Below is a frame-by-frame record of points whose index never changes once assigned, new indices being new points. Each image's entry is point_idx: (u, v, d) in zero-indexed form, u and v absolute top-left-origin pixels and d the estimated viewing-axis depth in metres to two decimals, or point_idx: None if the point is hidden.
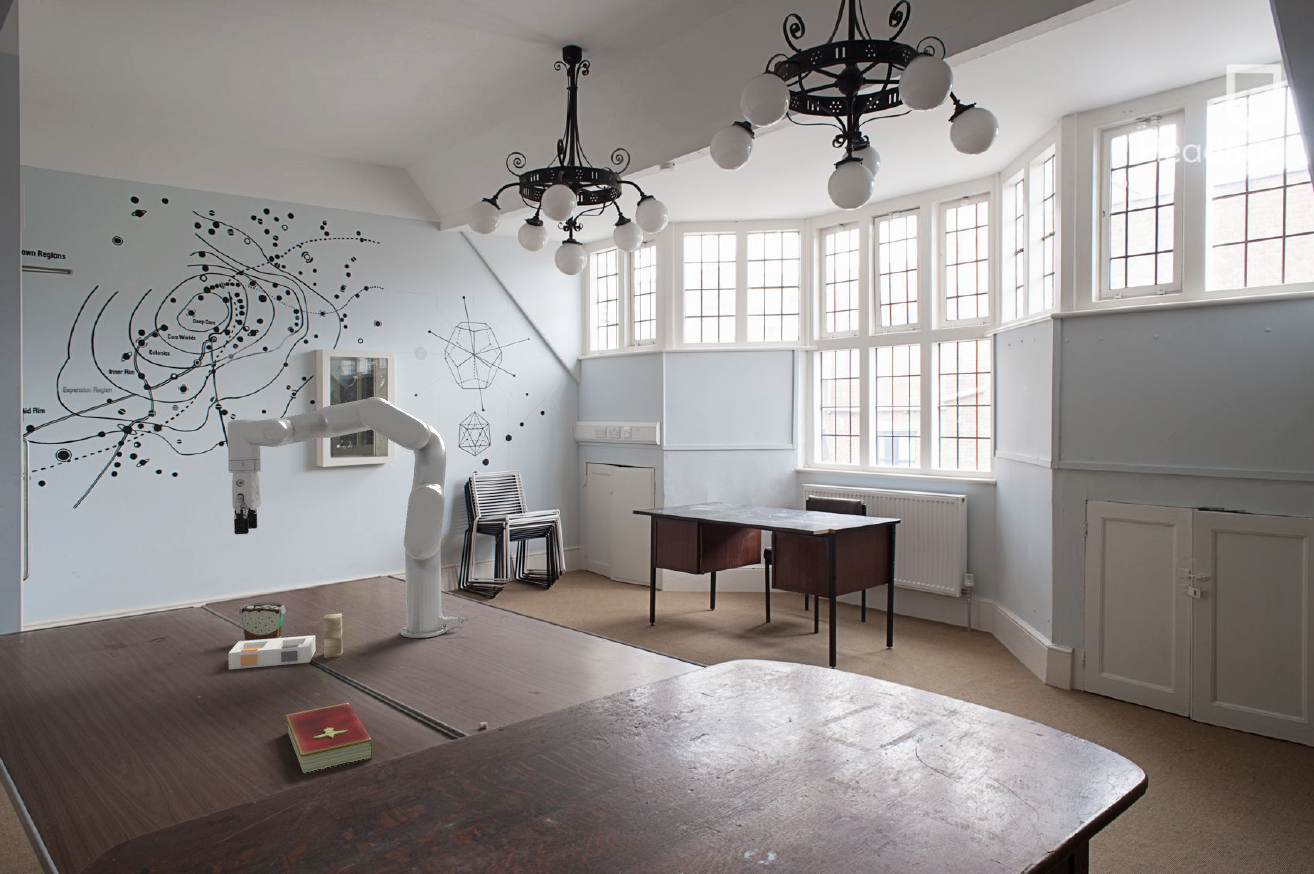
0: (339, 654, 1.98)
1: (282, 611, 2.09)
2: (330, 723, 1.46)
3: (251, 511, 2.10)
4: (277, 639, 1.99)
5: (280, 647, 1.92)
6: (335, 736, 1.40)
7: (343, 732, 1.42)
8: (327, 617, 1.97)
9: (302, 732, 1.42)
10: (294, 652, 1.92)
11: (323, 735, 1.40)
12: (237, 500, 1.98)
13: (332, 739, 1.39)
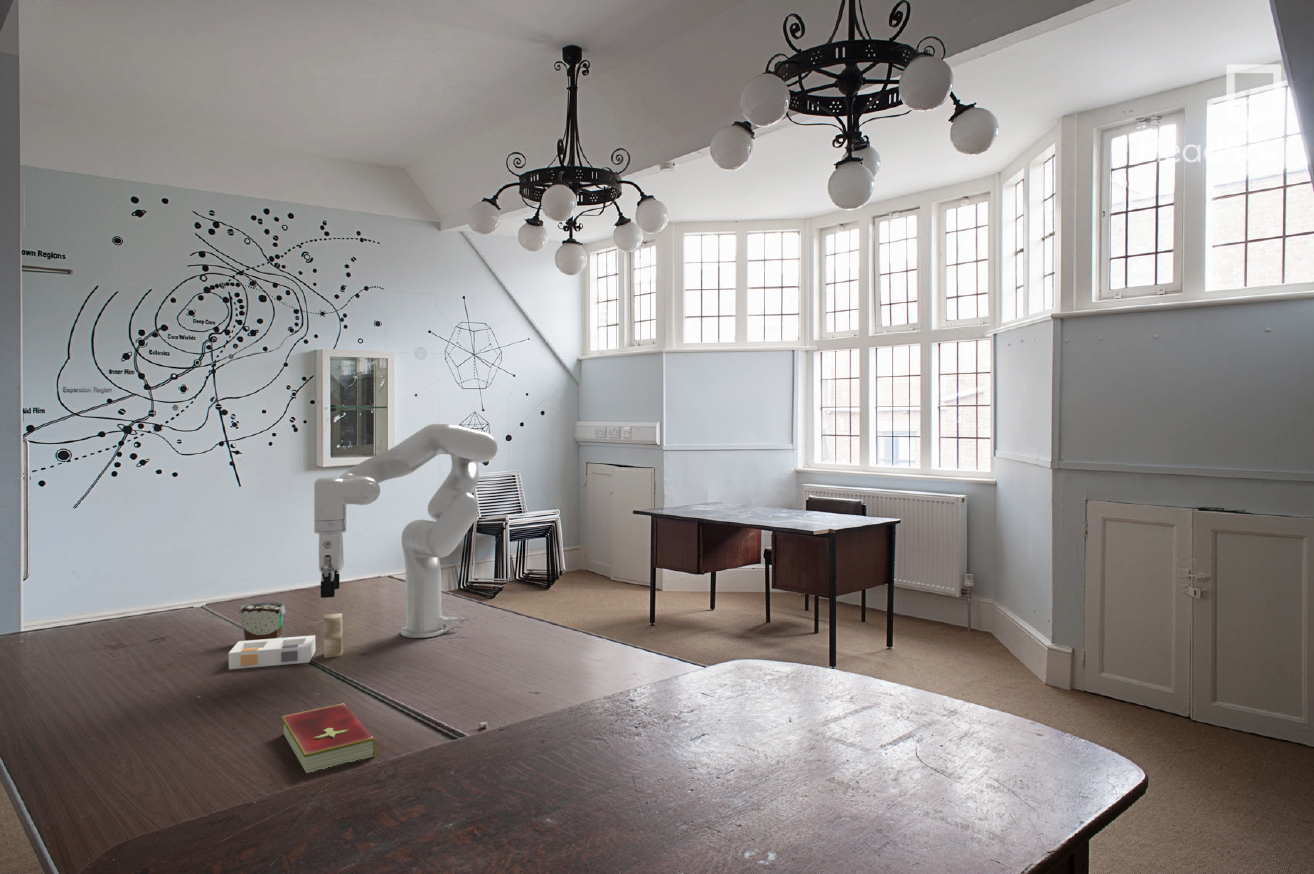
0: (339, 654, 1.98)
1: (282, 611, 2.09)
2: (329, 723, 1.46)
3: (334, 571, 2.03)
4: (277, 639, 1.99)
5: (280, 647, 1.92)
6: (336, 736, 1.41)
7: (344, 732, 1.42)
8: (327, 617, 1.97)
9: (302, 732, 1.42)
10: (294, 652, 1.92)
11: (324, 735, 1.40)
12: (325, 563, 1.91)
13: (334, 739, 1.39)
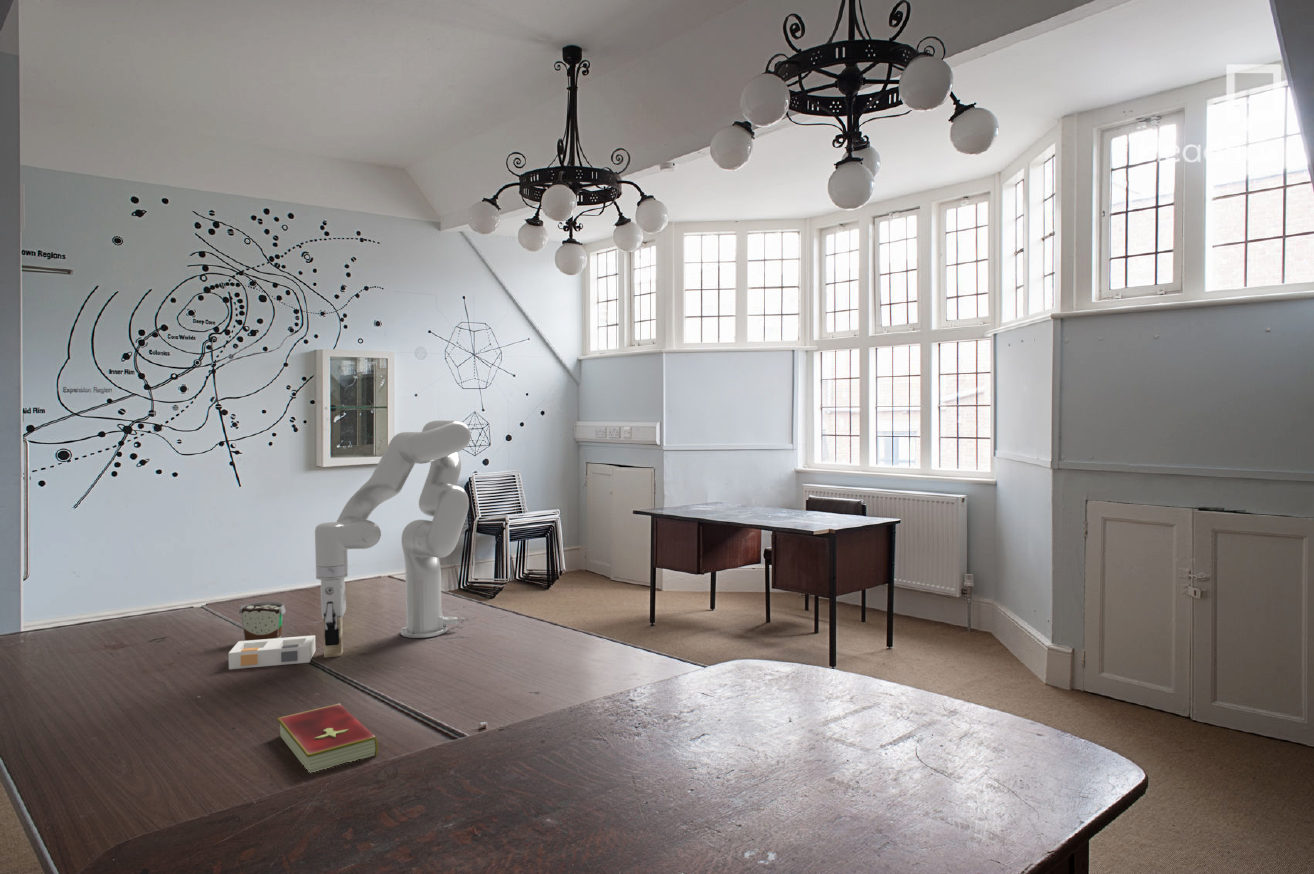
0: (339, 654, 1.98)
1: (282, 611, 2.09)
2: (328, 724, 1.46)
3: None
4: (277, 639, 1.99)
5: (280, 647, 1.92)
6: (337, 736, 1.41)
7: (344, 731, 1.42)
8: None
9: (302, 733, 1.42)
10: (294, 652, 1.92)
11: (325, 735, 1.40)
12: (328, 616, 1.93)
13: (335, 738, 1.39)
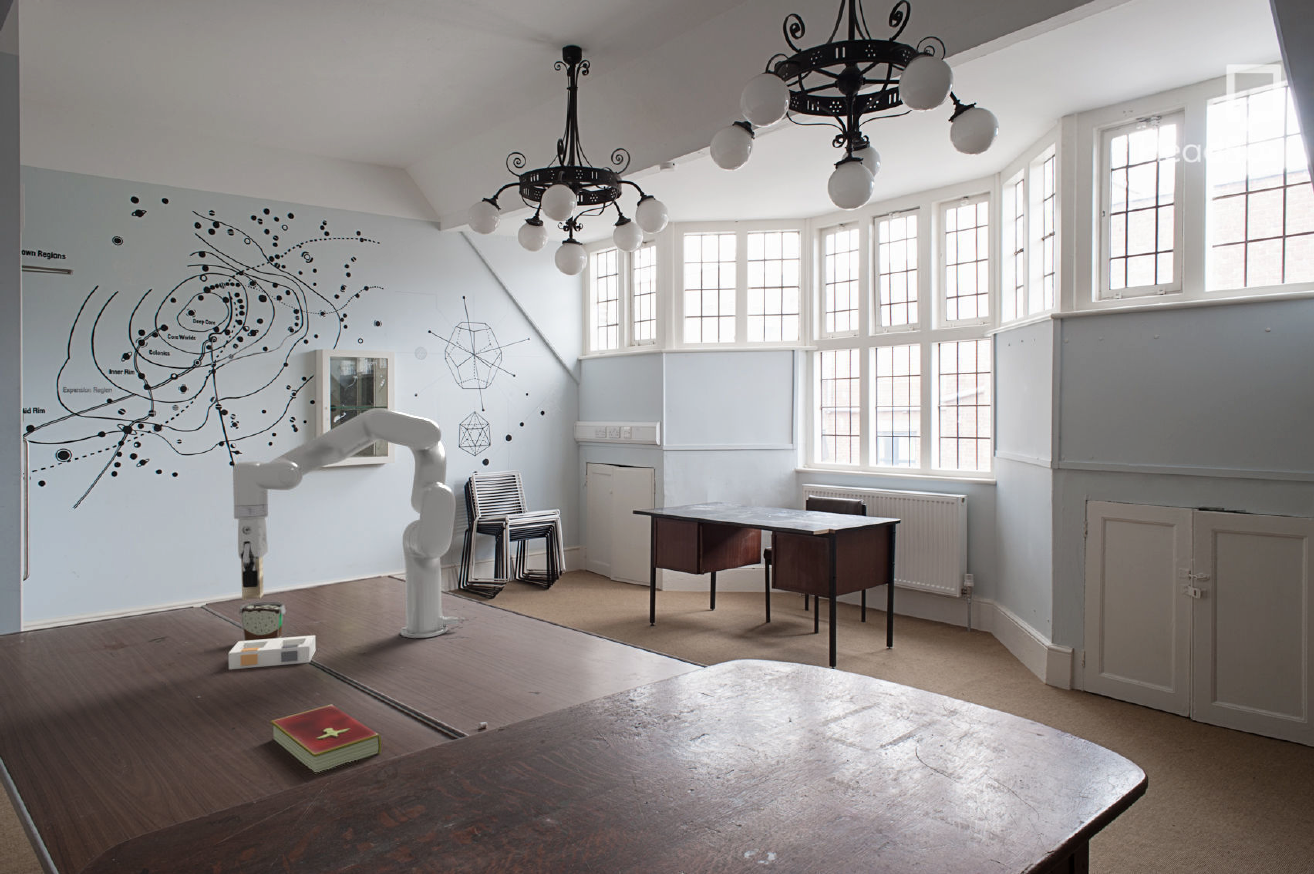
0: (258, 597, 1.92)
1: (282, 611, 2.09)
2: (326, 724, 1.46)
3: None
4: (277, 639, 1.99)
5: (280, 647, 1.92)
6: (339, 735, 1.41)
7: (345, 731, 1.42)
8: None
9: (301, 734, 1.41)
10: (294, 652, 1.92)
11: (326, 735, 1.40)
12: (245, 555, 1.87)
13: (338, 738, 1.40)
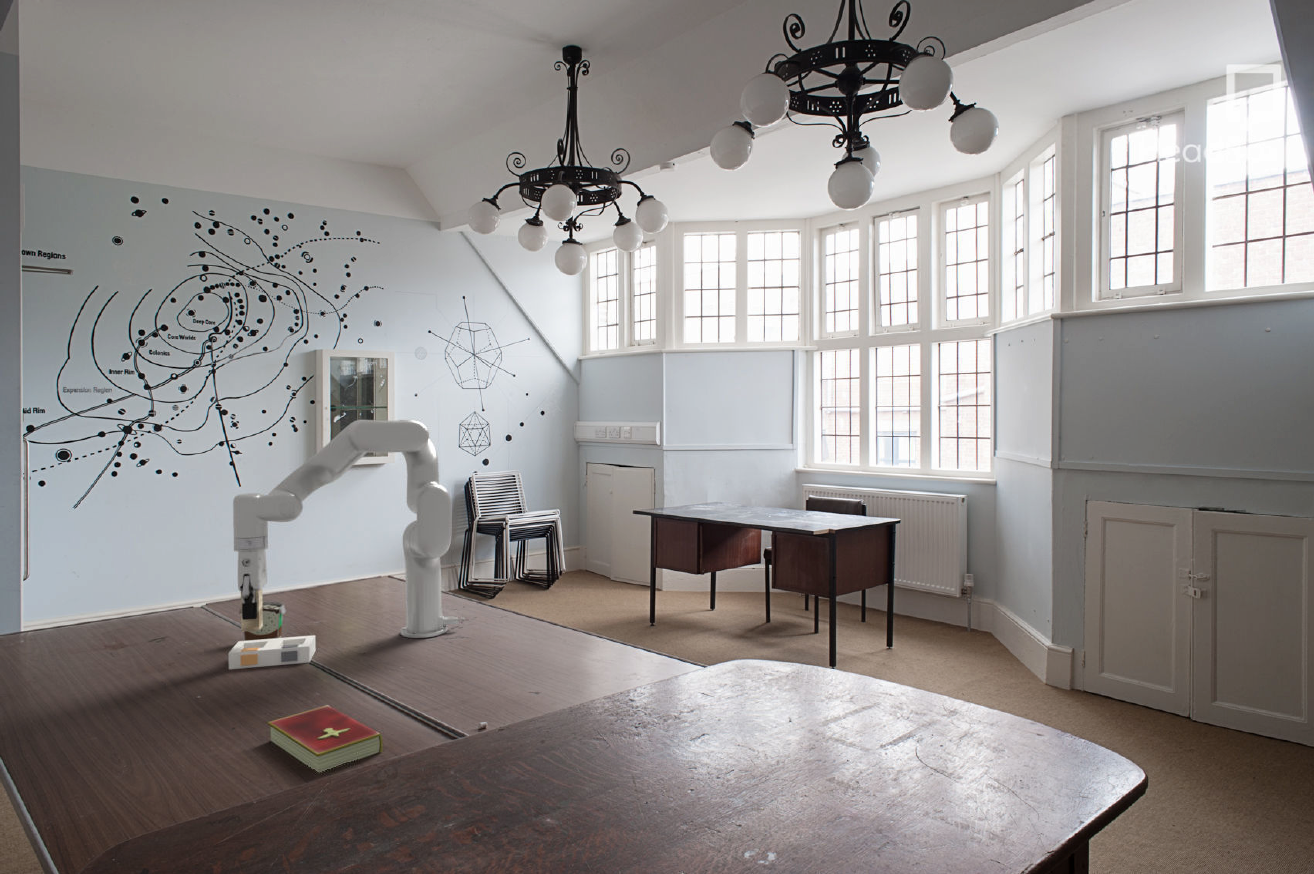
0: (257, 629, 1.92)
1: (282, 611, 2.09)
2: (325, 724, 1.46)
3: None
4: (277, 639, 1.99)
5: (280, 647, 1.92)
6: (340, 735, 1.41)
7: (346, 730, 1.43)
8: None
9: (301, 735, 1.41)
10: (294, 652, 1.92)
11: (327, 735, 1.40)
12: (244, 588, 1.87)
13: (339, 738, 1.40)
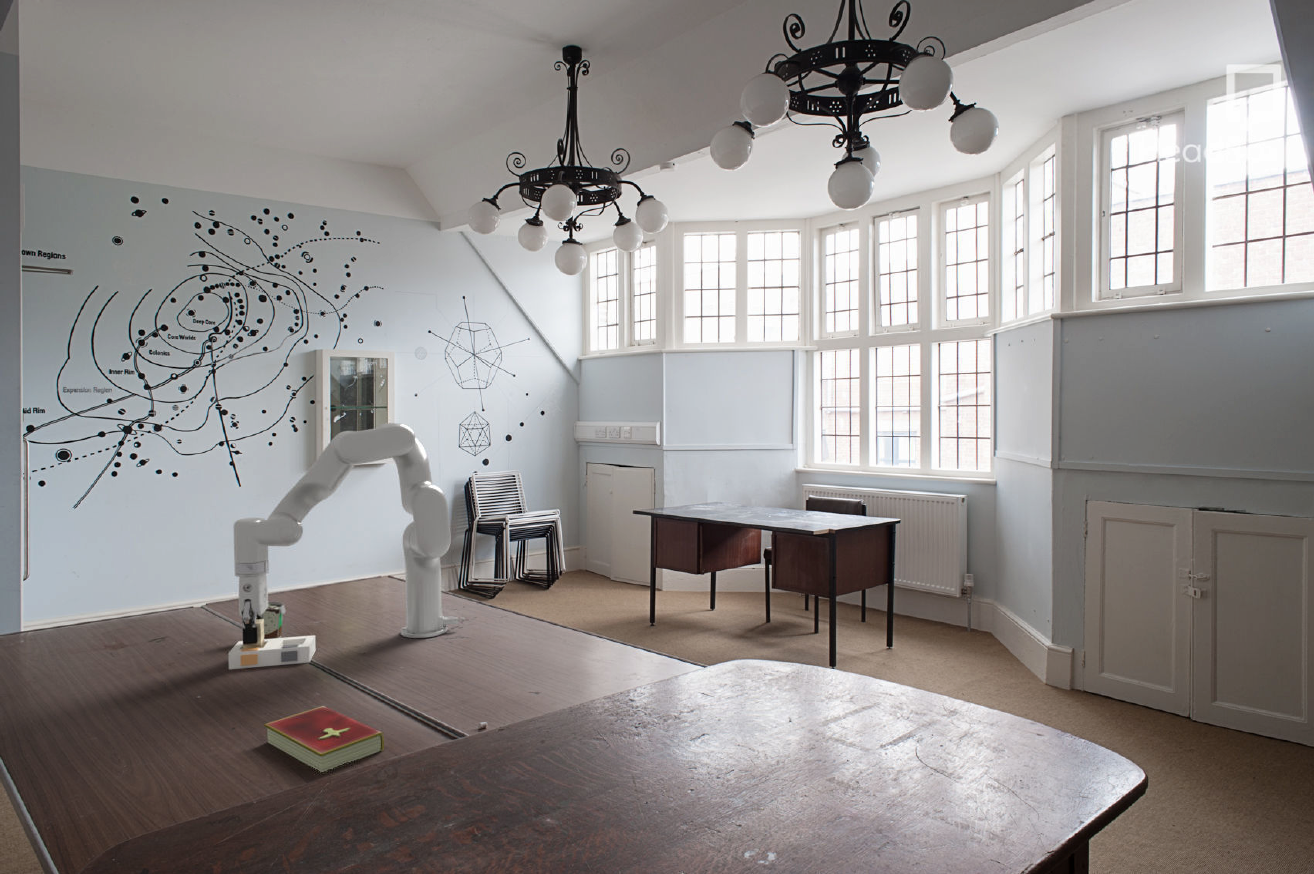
0: None
1: (282, 611, 2.09)
2: (324, 725, 1.46)
3: (257, 616, 1.97)
4: (277, 639, 1.99)
5: (280, 647, 1.92)
6: (340, 734, 1.41)
7: (346, 730, 1.43)
8: None
9: (301, 735, 1.41)
10: (294, 652, 1.92)
11: (328, 735, 1.40)
12: (245, 611, 1.87)
13: (340, 737, 1.40)
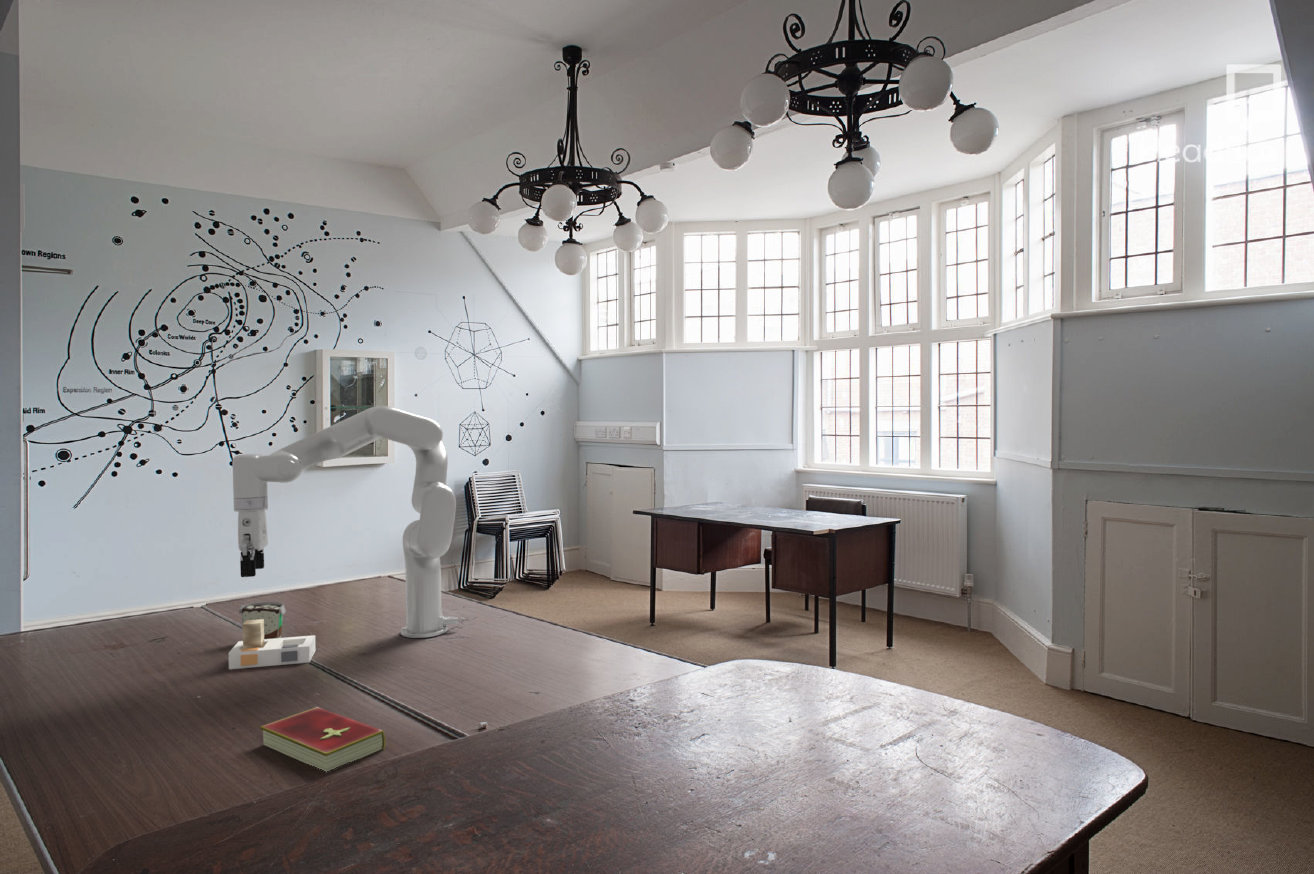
0: None
1: (282, 611, 2.09)
2: (322, 725, 1.45)
3: (258, 550, 1.98)
4: (277, 639, 1.99)
5: (280, 647, 1.92)
6: (342, 734, 1.41)
7: (347, 730, 1.43)
8: (247, 623, 1.92)
9: (301, 736, 1.40)
10: (294, 652, 1.92)
11: (329, 735, 1.40)
12: (243, 541, 1.86)
13: (342, 737, 1.40)
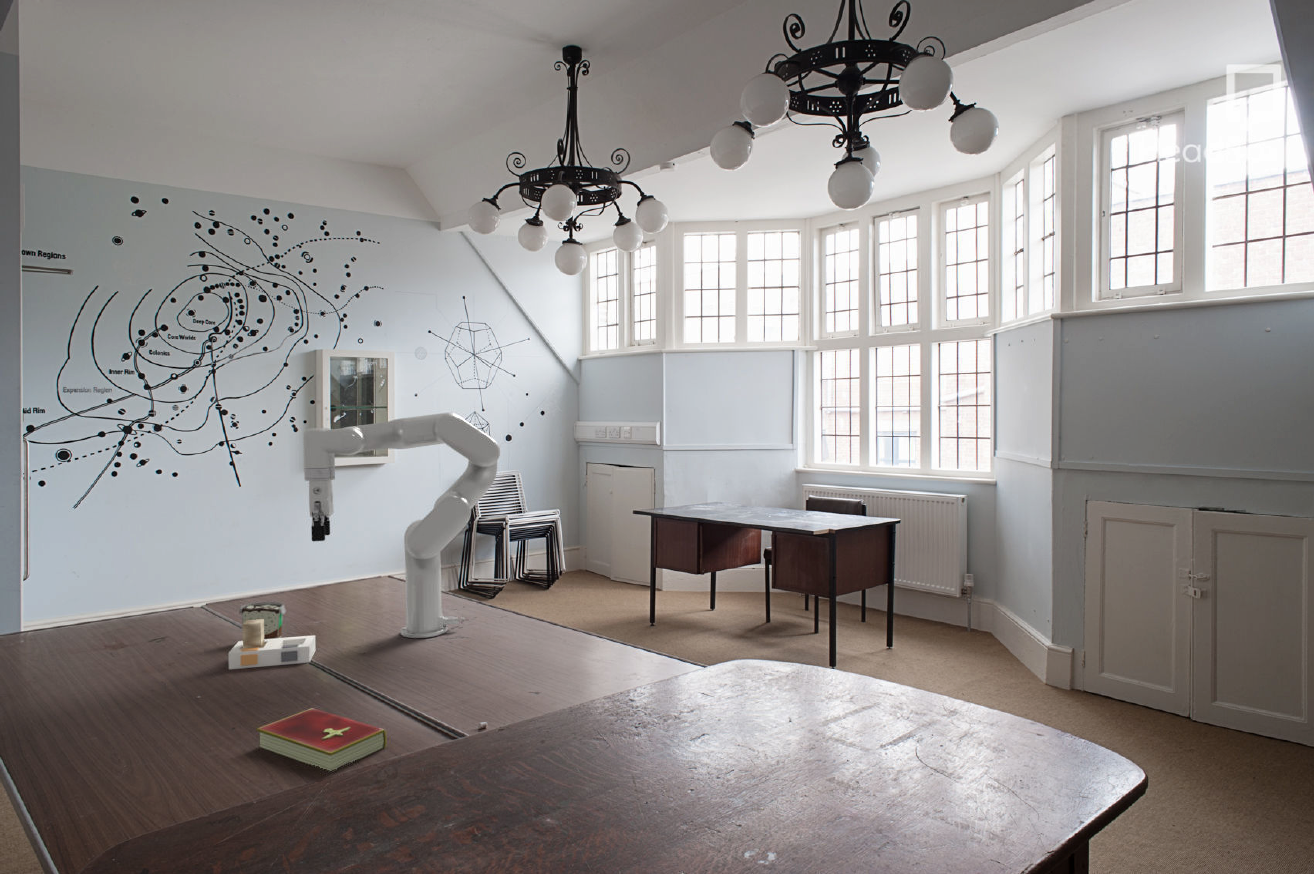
0: None
1: (282, 611, 2.09)
2: (321, 726, 1.45)
3: (324, 518, 2.13)
4: (277, 639, 1.99)
5: (280, 647, 1.92)
6: (343, 734, 1.41)
7: (347, 729, 1.43)
8: (247, 623, 1.92)
9: (301, 737, 1.40)
10: (294, 652, 1.92)
11: (330, 735, 1.40)
12: (315, 508, 2.01)
13: (344, 736, 1.40)
